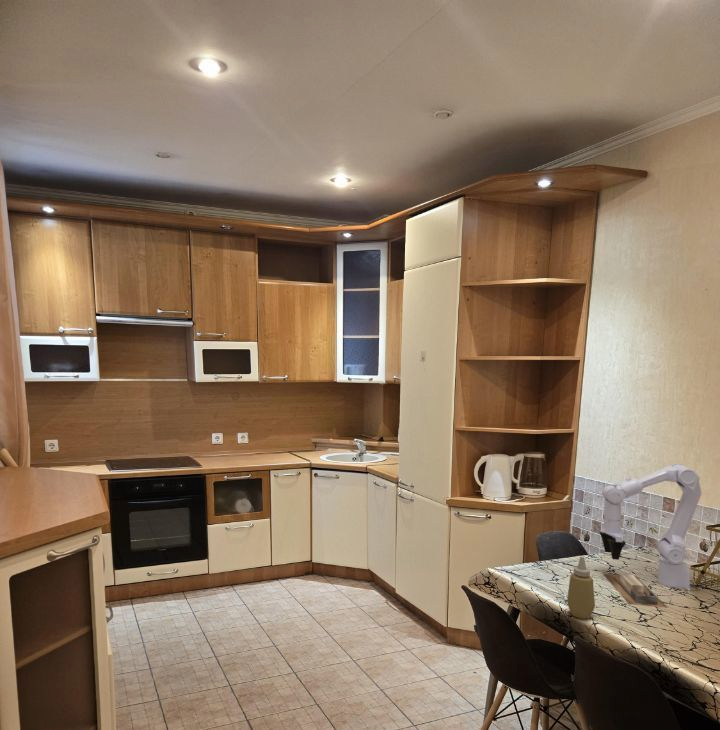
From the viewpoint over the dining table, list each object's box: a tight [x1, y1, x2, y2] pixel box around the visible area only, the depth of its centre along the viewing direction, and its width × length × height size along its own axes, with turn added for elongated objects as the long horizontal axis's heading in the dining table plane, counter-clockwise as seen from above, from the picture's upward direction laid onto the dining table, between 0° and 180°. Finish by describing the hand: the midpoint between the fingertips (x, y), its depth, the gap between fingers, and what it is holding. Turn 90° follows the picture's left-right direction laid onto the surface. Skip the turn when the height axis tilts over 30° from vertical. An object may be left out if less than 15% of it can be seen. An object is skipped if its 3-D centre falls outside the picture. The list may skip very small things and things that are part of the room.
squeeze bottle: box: [566, 556, 596, 620], centre depth 159 cm, size 8×8×18 cm
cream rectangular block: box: [620, 573, 644, 595], centre depth 180 cm, size 4×10×3 cm, turn 172°
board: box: [602, 573, 669, 608], centre depth 179 cm, size 12×26×3 cm, turn 172°
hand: (611, 555), depth 190 cm, fingers open, 7 cm apart
